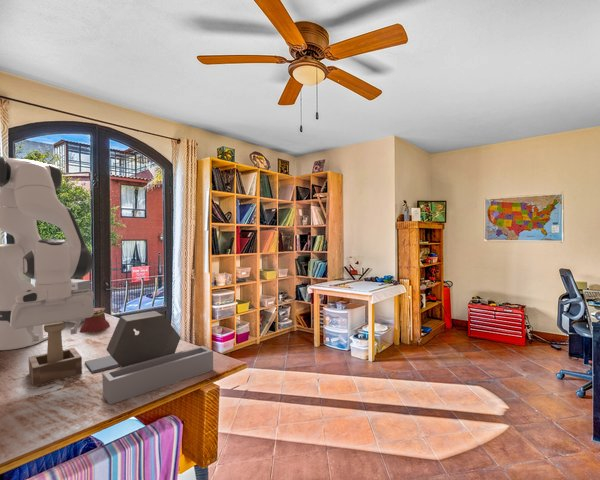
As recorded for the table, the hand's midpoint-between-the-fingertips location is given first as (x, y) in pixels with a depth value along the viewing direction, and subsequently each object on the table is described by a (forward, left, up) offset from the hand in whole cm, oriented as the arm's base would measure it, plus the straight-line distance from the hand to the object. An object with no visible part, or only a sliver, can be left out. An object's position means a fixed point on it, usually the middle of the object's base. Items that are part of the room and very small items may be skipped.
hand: (55, 337), depth 98 cm
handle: (0, 0, -11) cm, 11 cm away
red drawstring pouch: (-44, +20, -12) cm, 50 cm away
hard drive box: (-70, +16, -11) cm, 73 cm away
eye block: (0, 0, -11) cm, 11 cm away
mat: (+3, +13, -11) cm, 17 cm away
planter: (+18, +20, -11) cm, 29 cm away
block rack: (+29, +21, -11) cm, 37 cm away
